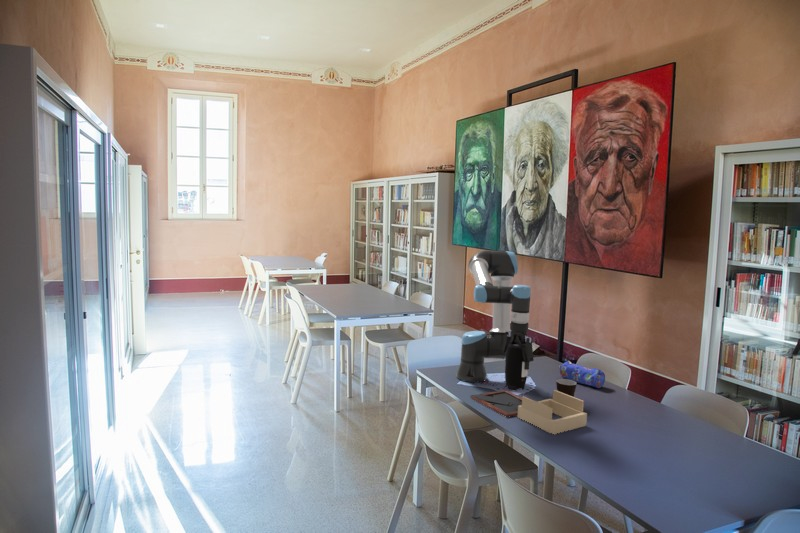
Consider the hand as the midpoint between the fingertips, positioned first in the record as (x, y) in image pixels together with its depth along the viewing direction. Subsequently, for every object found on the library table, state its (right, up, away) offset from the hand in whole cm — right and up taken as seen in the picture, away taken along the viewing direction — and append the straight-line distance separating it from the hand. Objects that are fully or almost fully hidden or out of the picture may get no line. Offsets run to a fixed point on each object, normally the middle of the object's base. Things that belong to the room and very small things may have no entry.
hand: (516, 373), depth 232 cm
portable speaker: (0, -7, +1) cm, 7 cm away
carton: (+11, -17, -13) cm, 24 cm away
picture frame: (-4, -15, +5) cm, 16 cm away
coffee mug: (+24, -15, +9) cm, 30 cm away
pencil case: (+41, -13, +40) cm, 59 cm away
